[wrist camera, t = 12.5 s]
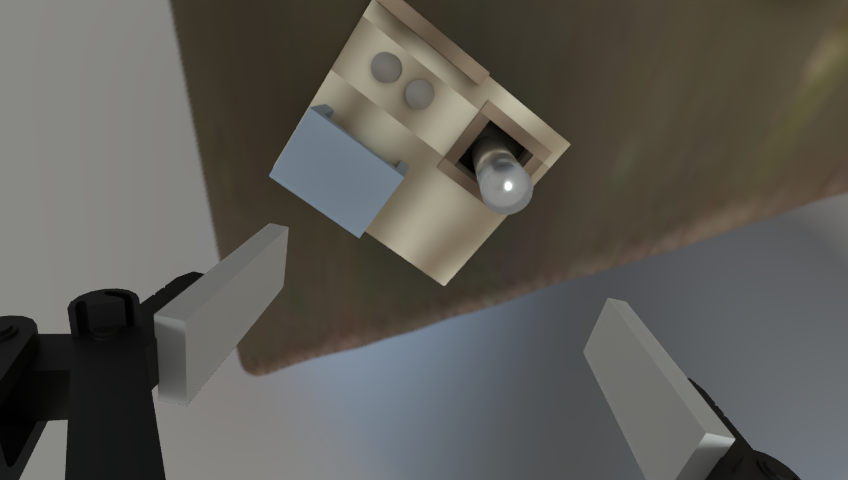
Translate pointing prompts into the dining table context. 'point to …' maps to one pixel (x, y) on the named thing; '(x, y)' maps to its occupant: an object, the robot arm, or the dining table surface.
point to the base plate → (427, 132)
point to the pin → (500, 177)
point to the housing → (336, 171)
